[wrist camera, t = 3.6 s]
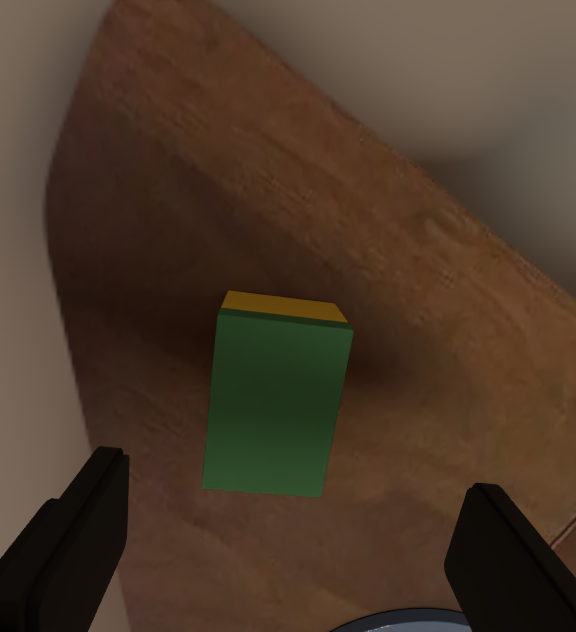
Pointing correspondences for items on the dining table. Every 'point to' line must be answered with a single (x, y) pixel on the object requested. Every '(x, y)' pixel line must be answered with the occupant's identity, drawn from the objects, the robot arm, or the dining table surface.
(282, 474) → the sponge
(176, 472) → the dining table surface
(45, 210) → the dining table surface
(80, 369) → the dining table surface
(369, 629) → the plate
